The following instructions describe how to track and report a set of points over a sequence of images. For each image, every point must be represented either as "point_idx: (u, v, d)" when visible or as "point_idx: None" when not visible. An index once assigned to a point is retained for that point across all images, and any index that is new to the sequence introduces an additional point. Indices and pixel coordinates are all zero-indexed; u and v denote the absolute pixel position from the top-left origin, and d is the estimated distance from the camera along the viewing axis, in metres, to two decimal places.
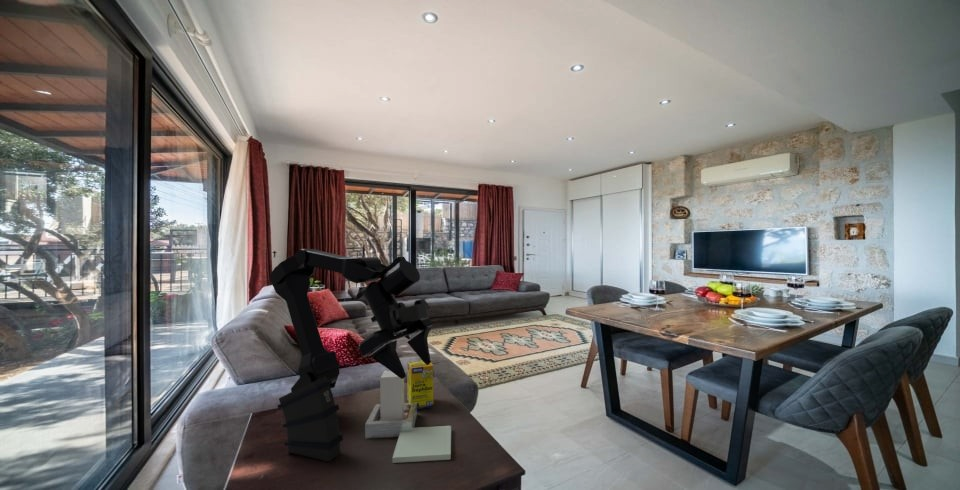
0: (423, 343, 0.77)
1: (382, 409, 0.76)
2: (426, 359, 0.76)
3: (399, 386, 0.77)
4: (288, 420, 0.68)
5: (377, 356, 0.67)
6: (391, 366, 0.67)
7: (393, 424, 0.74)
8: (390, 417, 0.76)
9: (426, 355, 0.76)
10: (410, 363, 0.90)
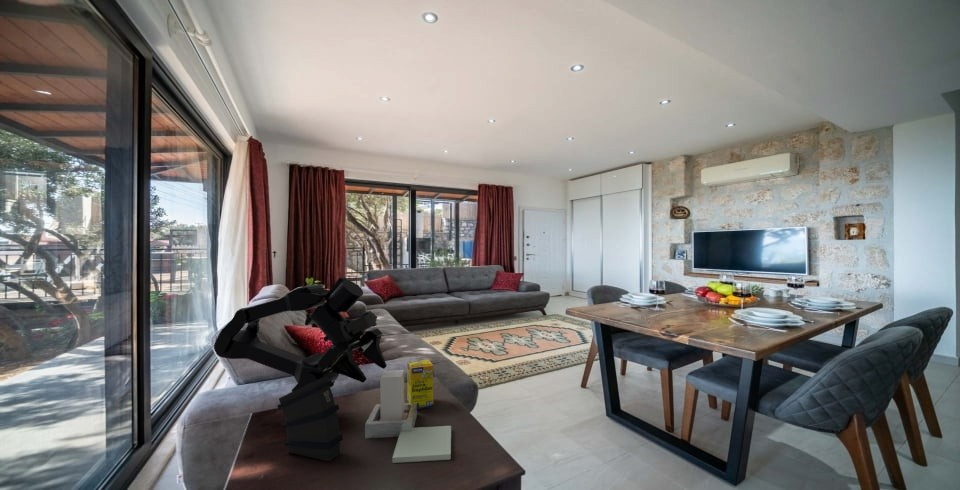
0: (376, 350, 0.85)
1: (382, 409, 0.76)
2: (381, 364, 0.84)
3: (399, 386, 0.77)
4: (288, 420, 0.68)
5: (336, 368, 0.75)
6: (351, 373, 0.75)
7: (393, 424, 0.74)
8: (390, 416, 0.76)
9: (381, 360, 0.84)
10: (410, 363, 0.90)
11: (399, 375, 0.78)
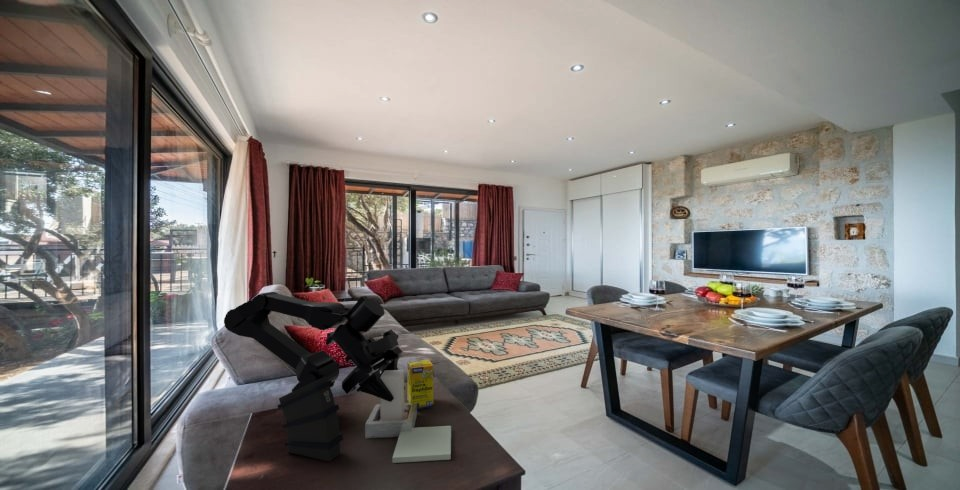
0: None
1: (382, 409, 0.76)
2: None
3: (399, 386, 0.77)
4: (288, 420, 0.68)
5: (364, 387, 0.75)
6: (379, 393, 0.75)
7: (393, 424, 0.74)
8: (390, 416, 0.76)
9: None
10: (410, 363, 0.90)
11: (399, 375, 0.77)
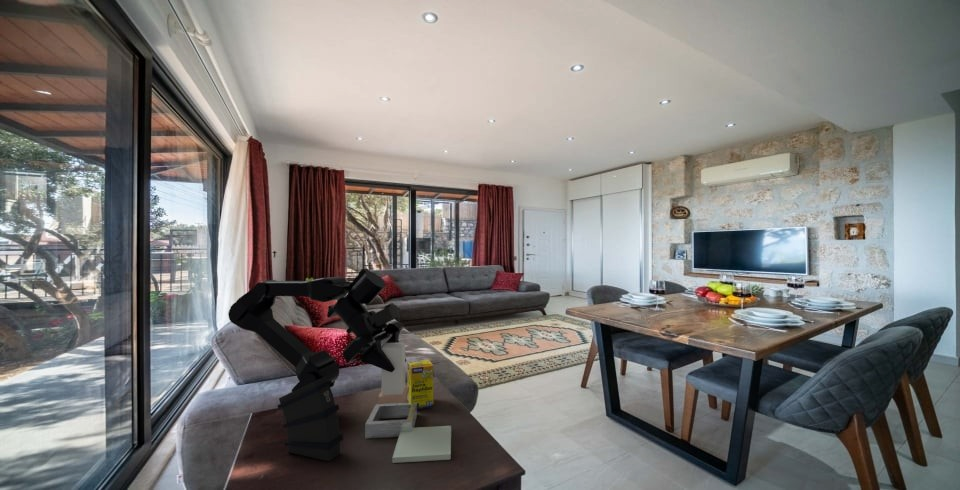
0: None
1: (383, 380, 0.76)
2: None
3: (400, 357, 0.77)
4: (288, 420, 0.68)
5: (365, 358, 0.75)
6: (380, 363, 0.75)
7: (393, 424, 0.74)
8: (391, 387, 0.76)
9: None
10: (410, 363, 0.90)
11: (400, 346, 0.77)
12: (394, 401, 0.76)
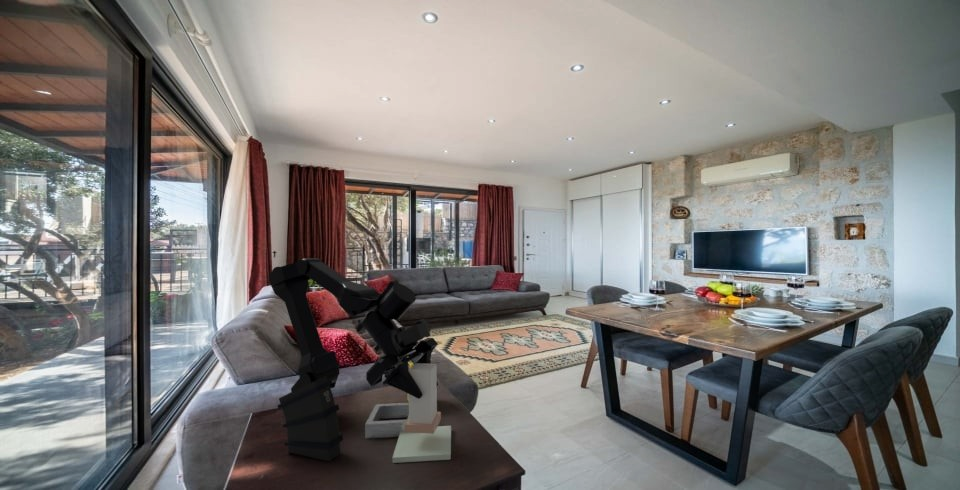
0: None
1: (410, 406, 0.68)
2: None
3: (429, 382, 0.68)
4: (288, 420, 0.68)
5: (391, 380, 0.68)
6: (406, 388, 0.67)
7: (393, 424, 0.74)
8: (419, 415, 0.68)
9: None
10: (410, 363, 0.90)
11: (429, 369, 0.69)
12: (422, 431, 0.67)
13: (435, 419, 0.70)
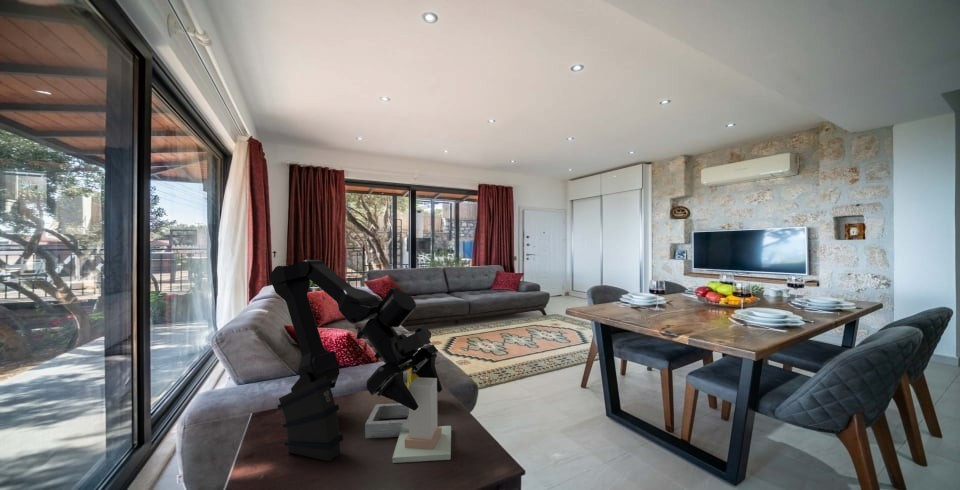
0: (431, 371, 0.75)
1: (411, 421, 0.68)
2: (437, 387, 0.74)
3: (428, 397, 0.68)
4: (288, 420, 0.68)
5: (386, 392, 0.66)
6: (402, 399, 0.66)
7: (393, 424, 0.74)
8: (419, 430, 0.68)
9: None
10: None
11: (429, 384, 0.69)
12: (422, 446, 0.67)
13: (435, 434, 0.69)
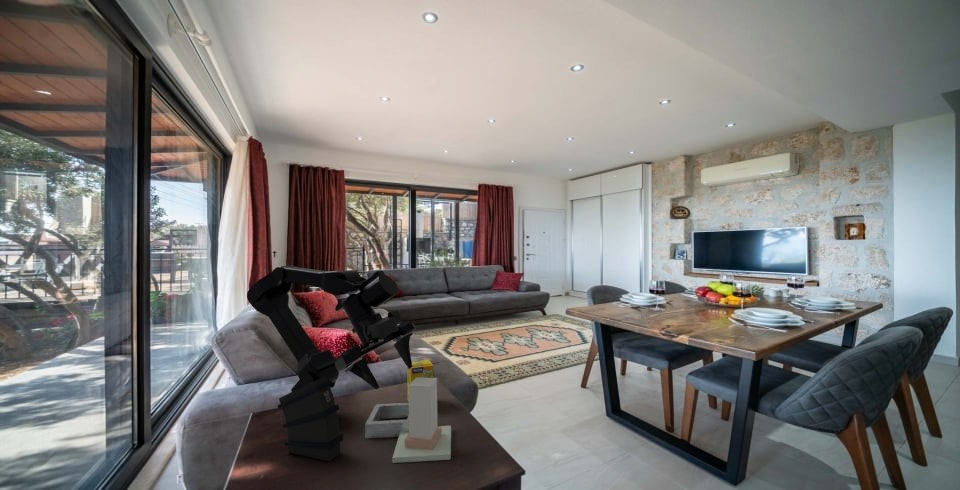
0: (404, 348, 0.80)
1: (411, 421, 0.68)
2: (407, 363, 0.80)
3: (428, 397, 0.68)
4: (288, 420, 0.68)
5: (353, 369, 0.74)
6: (365, 378, 0.73)
7: (393, 424, 0.74)
8: (419, 430, 0.68)
9: (407, 360, 0.80)
10: None
11: (429, 384, 0.69)
12: (422, 446, 0.67)
13: (435, 434, 0.69)
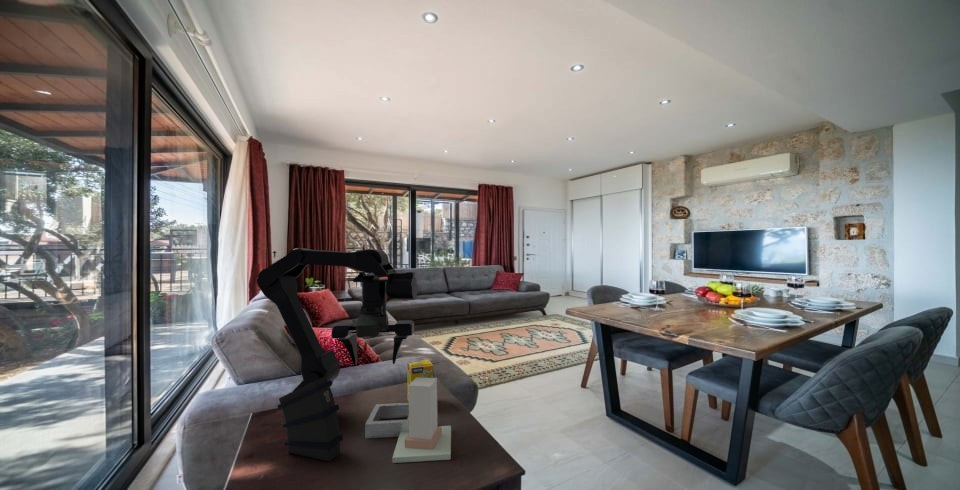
0: None
1: (411, 421, 0.68)
2: (393, 359, 0.83)
3: (428, 397, 0.68)
4: (288, 420, 0.68)
5: None
6: None
7: (393, 424, 0.74)
8: (419, 430, 0.68)
9: None
10: (410, 363, 0.90)
11: (429, 384, 0.69)
12: (422, 446, 0.67)
13: (435, 434, 0.69)
